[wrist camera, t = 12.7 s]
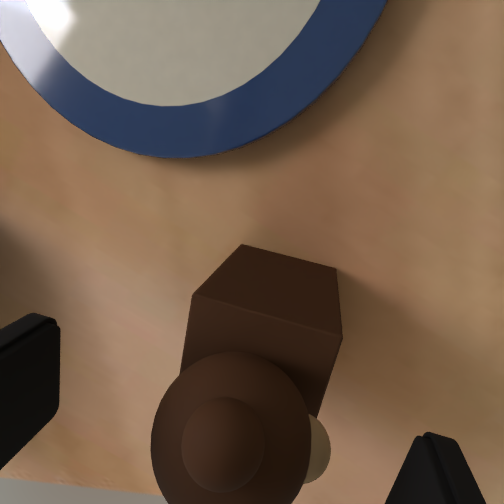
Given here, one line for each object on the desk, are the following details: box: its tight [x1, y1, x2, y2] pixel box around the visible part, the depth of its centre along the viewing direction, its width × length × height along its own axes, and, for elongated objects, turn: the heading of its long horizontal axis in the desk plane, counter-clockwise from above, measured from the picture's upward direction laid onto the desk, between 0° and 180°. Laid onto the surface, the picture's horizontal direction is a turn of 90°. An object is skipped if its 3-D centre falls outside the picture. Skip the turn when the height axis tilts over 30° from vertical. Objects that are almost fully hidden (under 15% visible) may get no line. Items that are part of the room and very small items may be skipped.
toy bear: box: [151, 244, 343, 504], centre depth 11 cm, size 5×5×10 cm
